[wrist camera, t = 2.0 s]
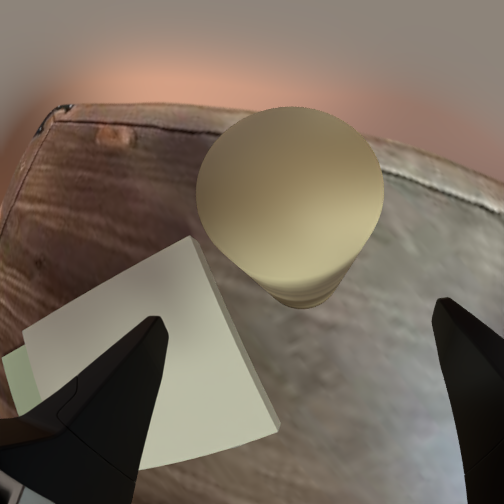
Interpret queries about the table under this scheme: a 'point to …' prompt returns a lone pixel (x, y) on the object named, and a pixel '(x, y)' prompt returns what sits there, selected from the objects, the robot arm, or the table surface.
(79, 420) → the robot arm
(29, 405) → the pad
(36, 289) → the table surface
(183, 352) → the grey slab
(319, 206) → the birch roller
